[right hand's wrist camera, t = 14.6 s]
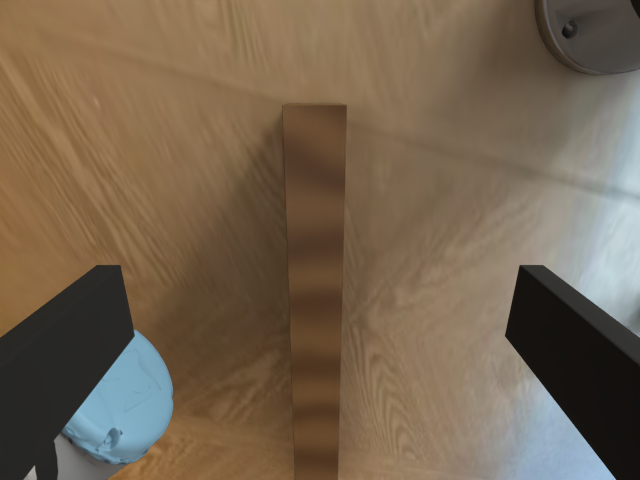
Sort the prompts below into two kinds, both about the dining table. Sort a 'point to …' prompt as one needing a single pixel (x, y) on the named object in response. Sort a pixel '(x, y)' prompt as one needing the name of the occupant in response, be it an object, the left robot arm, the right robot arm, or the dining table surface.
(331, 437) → the beam
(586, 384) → the right robot arm
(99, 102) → the dining table surface
